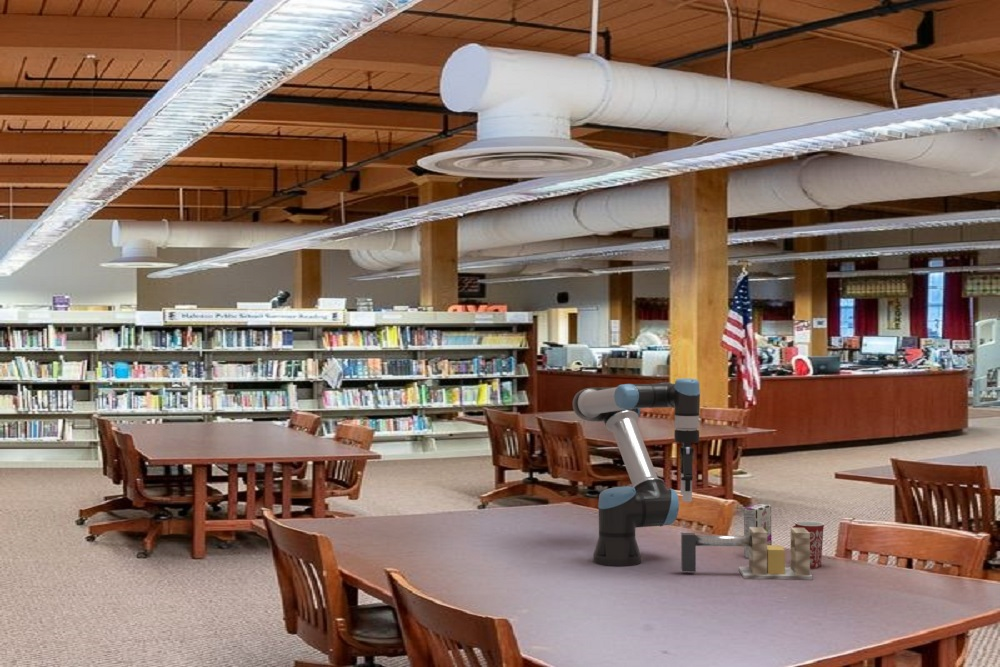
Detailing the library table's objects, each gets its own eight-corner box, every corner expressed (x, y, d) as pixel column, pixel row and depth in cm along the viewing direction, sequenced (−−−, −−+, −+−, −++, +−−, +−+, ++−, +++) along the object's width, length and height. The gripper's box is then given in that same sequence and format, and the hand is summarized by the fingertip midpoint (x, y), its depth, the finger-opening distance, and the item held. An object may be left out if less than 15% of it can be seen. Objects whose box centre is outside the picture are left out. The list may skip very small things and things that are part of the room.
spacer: (767, 573, 355) (767, 549, 355) (764, 568, 362) (764, 545, 362) (784, 574, 354) (784, 549, 354) (780, 569, 362) (780, 545, 362)
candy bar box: (758, 552, 394) (758, 503, 394) (772, 554, 391) (772, 504, 391) (743, 558, 385) (743, 507, 385) (757, 559, 382) (757, 508, 382)
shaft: (682, 571, 358) (682, 534, 358) (681, 568, 362) (681, 532, 362) (762, 572, 357) (762, 535, 357) (761, 569, 361) (761, 533, 361)
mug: (830, 567, 369) (830, 524, 369) (806, 569, 366) (806, 526, 366) (805, 560, 381) (805, 518, 381) (781, 562, 377) (781, 520, 377)
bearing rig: (743, 578, 353) (743, 533, 353) (738, 570, 365) (738, 526, 366) (812, 579, 351) (812, 533, 351) (804, 570, 364) (804, 526, 364)
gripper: (701, 433, 352) (701, 505, 352) (696, 425, 377) (696, 492, 377) (676, 433, 352) (675, 504, 353) (672, 425, 377) (672, 491, 378)
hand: (686, 498), depth 365 cm, fingers open, 13 cm apart
